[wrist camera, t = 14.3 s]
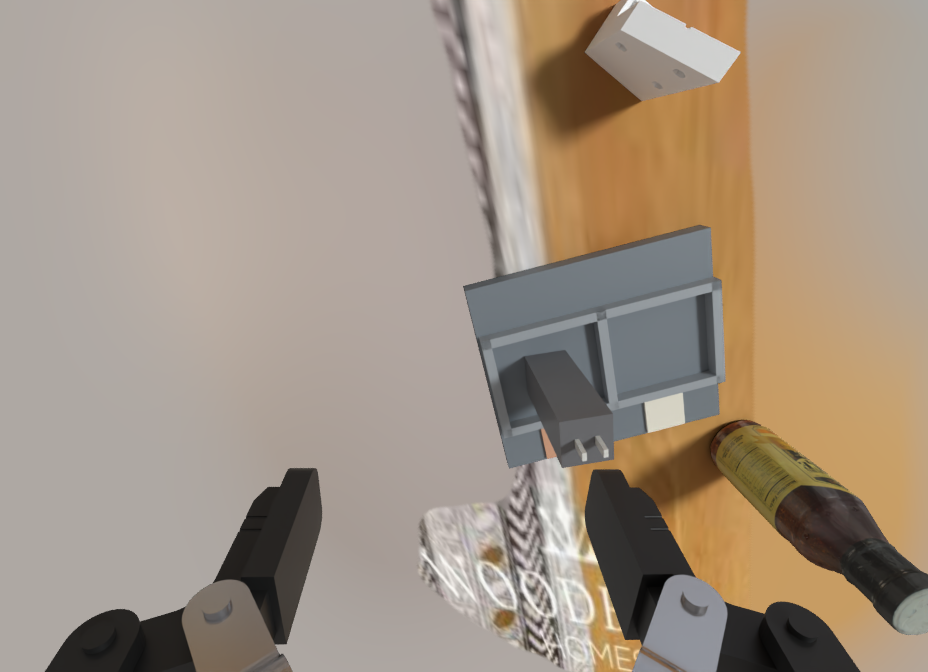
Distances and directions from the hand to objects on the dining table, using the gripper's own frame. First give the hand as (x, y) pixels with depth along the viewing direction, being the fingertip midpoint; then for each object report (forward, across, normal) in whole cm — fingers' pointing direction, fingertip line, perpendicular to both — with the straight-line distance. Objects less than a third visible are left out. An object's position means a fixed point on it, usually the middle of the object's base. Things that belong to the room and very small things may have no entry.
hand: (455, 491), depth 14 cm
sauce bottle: (+28, -30, +19) cm, 45 cm away
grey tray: (+28, -14, +9) cm, 32 cm away
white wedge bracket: (+30, -13, -15) cm, 36 cm away
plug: (+26, -9, +10) cm, 29 cm away
